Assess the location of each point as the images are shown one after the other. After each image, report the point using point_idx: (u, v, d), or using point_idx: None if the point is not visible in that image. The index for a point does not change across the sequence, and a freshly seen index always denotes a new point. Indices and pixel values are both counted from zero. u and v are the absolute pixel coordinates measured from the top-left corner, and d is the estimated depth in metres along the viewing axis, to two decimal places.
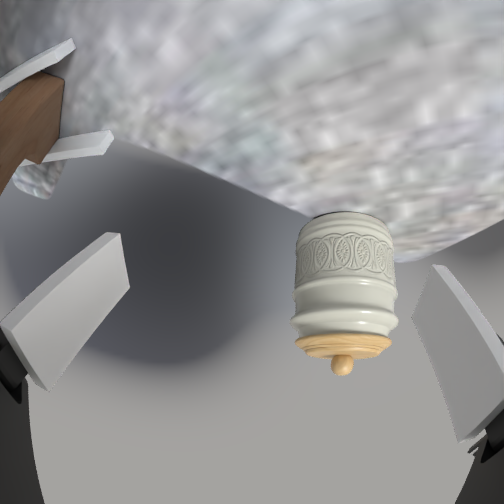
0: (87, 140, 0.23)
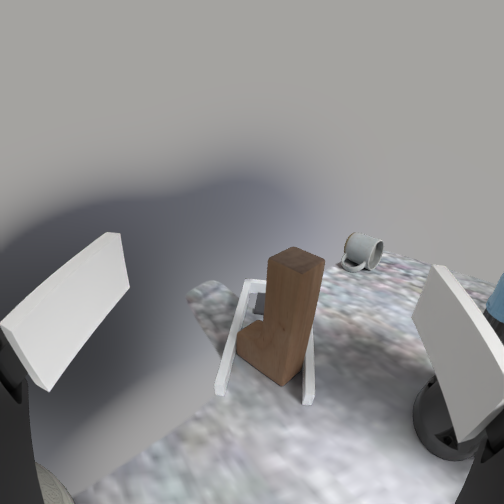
0: (227, 377, 0.33)
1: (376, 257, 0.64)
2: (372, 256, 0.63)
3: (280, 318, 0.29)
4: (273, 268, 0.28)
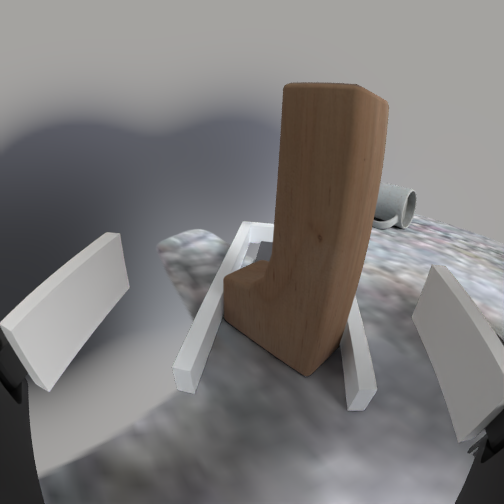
0: (202, 356, 0.18)
1: (407, 215, 0.48)
2: (404, 212, 0.46)
3: (311, 211, 0.14)
4: (295, 97, 0.12)
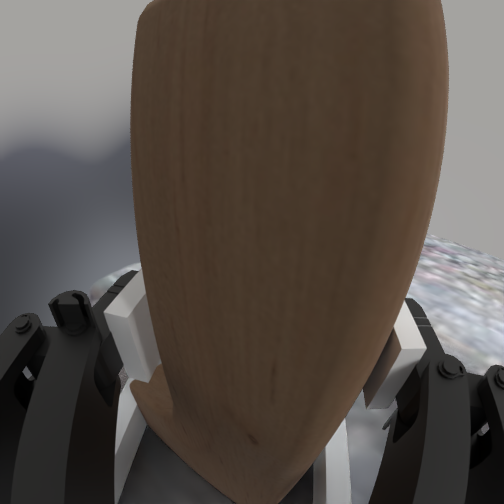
0: None
1: None
2: None
3: (226, 390, 0.04)
4: (155, 29, 0.03)
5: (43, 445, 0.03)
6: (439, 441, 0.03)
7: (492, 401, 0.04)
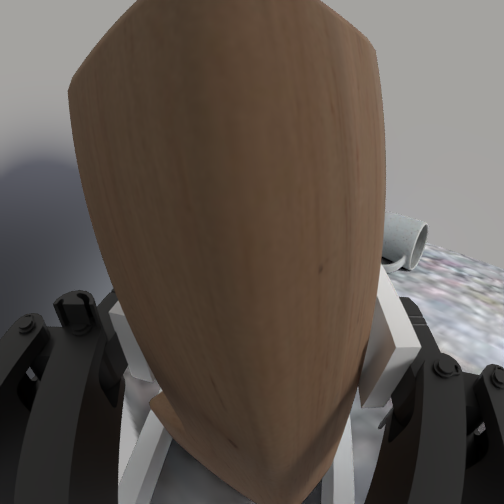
0: None
1: (415, 251, 0.40)
2: None
3: (197, 400, 0.05)
4: (77, 105, 0.03)
5: (47, 446, 0.03)
6: (434, 441, 0.03)
7: (488, 401, 0.04)
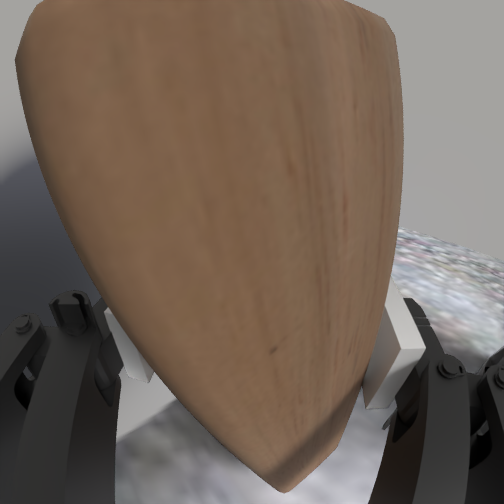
0: None
1: None
2: None
3: None
4: None
5: (43, 445, 0.03)
6: (439, 441, 0.03)
7: (492, 401, 0.04)
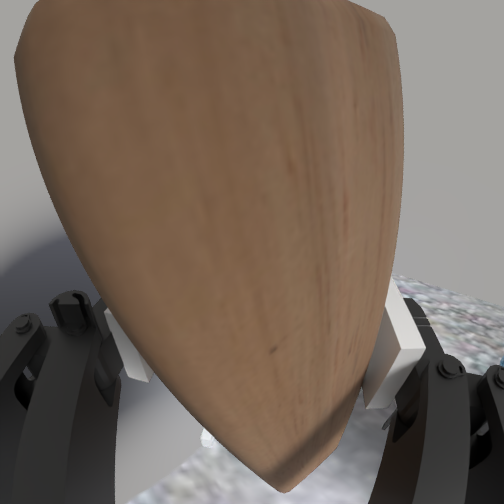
0: None
1: None
2: None
3: None
4: None
5: (43, 445, 0.03)
6: (438, 441, 0.03)
7: (491, 401, 0.04)
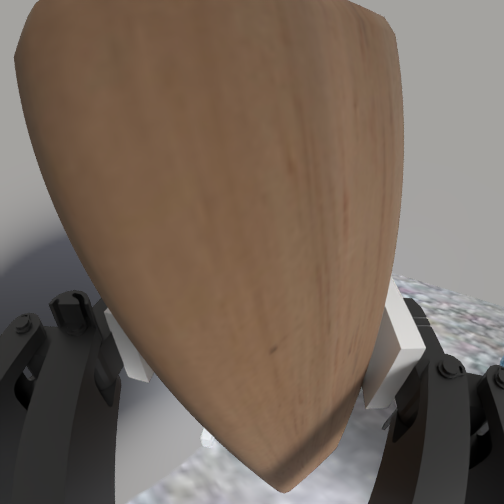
0: None
1: None
2: None
3: None
4: None
5: (43, 445, 0.03)
6: (439, 441, 0.03)
7: (491, 401, 0.04)
